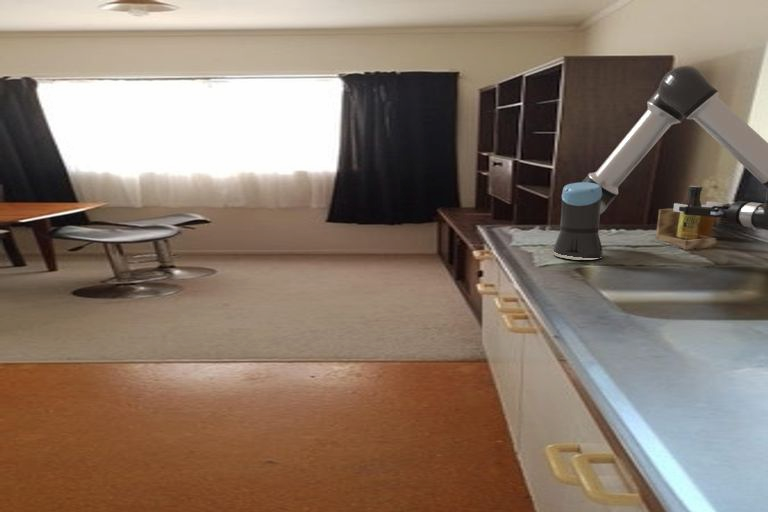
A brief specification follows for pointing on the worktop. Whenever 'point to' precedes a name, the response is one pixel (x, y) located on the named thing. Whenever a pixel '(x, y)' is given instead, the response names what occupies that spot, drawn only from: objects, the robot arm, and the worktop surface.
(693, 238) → the sauce bottle
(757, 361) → the worktop surface
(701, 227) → the glass of beer
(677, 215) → the open wooden box
